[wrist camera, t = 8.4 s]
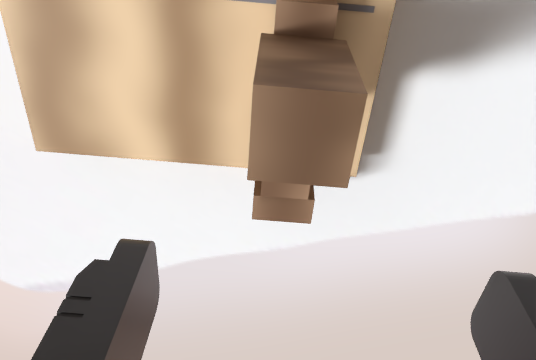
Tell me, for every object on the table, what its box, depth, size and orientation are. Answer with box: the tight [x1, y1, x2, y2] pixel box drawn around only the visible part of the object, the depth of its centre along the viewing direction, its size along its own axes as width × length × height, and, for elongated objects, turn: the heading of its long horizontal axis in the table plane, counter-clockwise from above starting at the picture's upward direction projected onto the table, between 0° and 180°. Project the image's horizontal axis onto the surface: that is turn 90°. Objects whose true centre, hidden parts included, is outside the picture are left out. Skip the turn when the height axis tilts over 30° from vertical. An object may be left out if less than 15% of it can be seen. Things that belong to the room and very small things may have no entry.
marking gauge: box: [247, 0, 368, 224], centre depth 22 cm, size 4×13×11 cm, turn 176°
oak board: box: [0, 0, 396, 177], centre depth 24 cm, size 20×14×3 cm
